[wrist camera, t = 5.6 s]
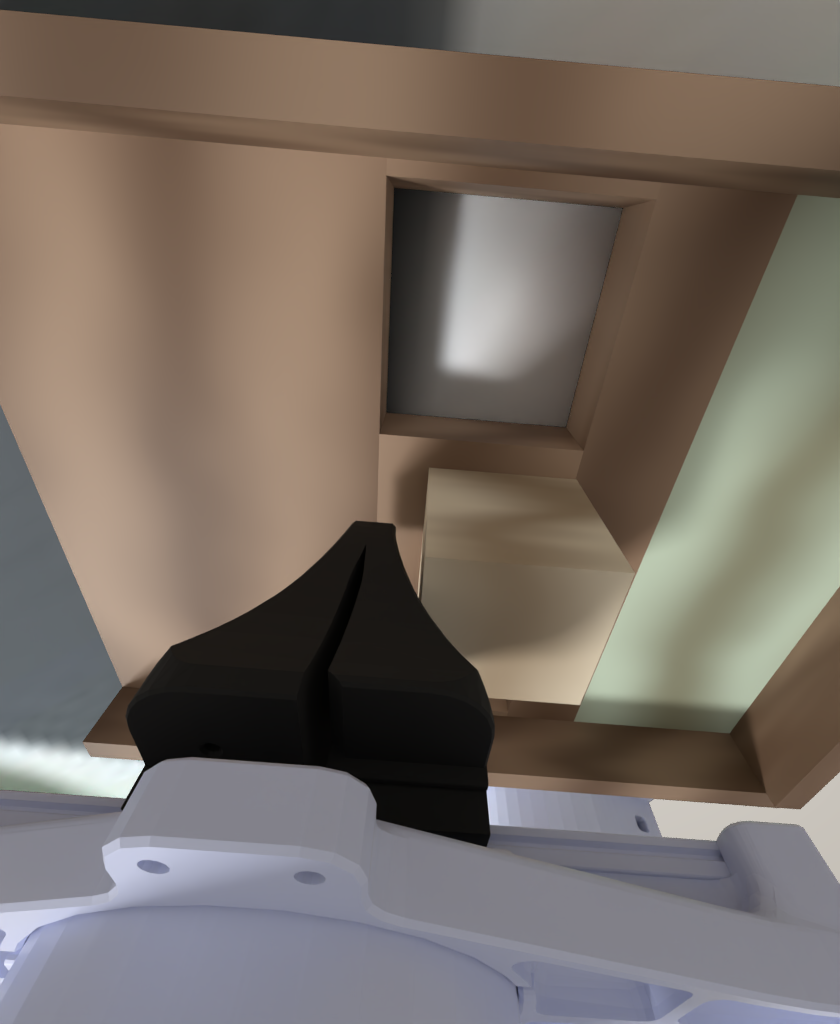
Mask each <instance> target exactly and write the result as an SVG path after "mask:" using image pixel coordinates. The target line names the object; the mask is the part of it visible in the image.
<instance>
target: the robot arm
mask: <svg viewBox="0 0 840 1024" xmlns="http://www.w3.org/2000/svg"><path fill="white" fill-rule="evenodd" d="M125 717H126V721H127V725H128V728H129V731H130V733H131V735H132V737H133V739H134V742H135V744H136V746H137V748H138V750H139V752H140V754H141V757H142V759H143V761H144V763H145V766H144V768H143V770H142V772H141V773H140V775H139V777H138V779H137V780H136V782H135V784H134V786H133V787H132V789H131V791H130V793H129V794H128V796H127V798H126V799H122V798H109V797H95V796H81V795H67V794H53V793H39V792H25V791H11V790H0V1024H840V884H839V883H838V881H837V879H836V878H835V876H834V875H833V873H832V872H831V870H830V868H829V867H828V866H827V864H826V862H825V861H824V859H823V858H822V856H821V854H820V853H819V851H818V850H817V848H816V847H815V845H814V843H813V842H812V840H811V839H810V838H809V836H808V834H807V833H806V831H805V829H804V828H803V827H801V826H799V825H795V824H782V823H768V822H754V821H742V822H737V823H733V824H730V825H729V826H727V827H726V828H724V830H723V831H722V832H721V833H720V835H719V837H718V838H717V841H709V840H695V839H681V838H667V837H662V836H661V833H660V830H659V828H658V825H657V823H656V820H655V817H654V815H653V812H652V810H651V807H650V804H649V802H650V801H652V800H653V799H652V798H638V797H625V796H611V795H598V794H585V793H571V792H558V791H545V790H531V789H518V788H505V787H491V786H488V771H487V762H488V759H489V755H490V751H491V748H492V744H493V740H494V736H495V723H494V717H493V713H492V709H491V705H490V701H489V698H488V695H487V692H486V689H485V686H484V684H483V681H482V679H481V676H480V674H479V671H478V670H477V669H476V668H475V667H474V666H473V665H472V664H471V663H470V662H469V661H468V660H467V659H466V658H464V657H463V656H462V655H461V654H460V653H459V652H458V650H457V649H456V648H455V647H454V646H453V645H452V644H451V643H450V641H449V640H448V639H447V638H446V637H445V635H444V634H443V633H442V632H441V630H440V629H439V628H438V626H437V625H436V624H435V622H434V621H433V620H432V618H431V617H430V615H429V614H428V612H427V611H426V609H425V608H424V606H423V604H422V603H421V601H420V599H419V597H418V596H417V594H416V592H415V590H414V588H413V586H412V584H411V582H410V579H409V577H408V575H407V573H406V570H405V568H404V565H403V562H402V559H401V556H400V553H399V549H398V545H397V540H396V527H395V525H394V524H393V523H380V522H367V521H355V522H353V523H352V524H351V525H350V527H349V528H348V529H347V530H346V532H345V533H344V534H343V535H342V536H341V537H340V538H339V540H338V541H337V542H336V543H335V544H334V545H333V546H332V547H331V548H330V549H329V550H328V551H327V552H326V553H325V554H324V555H323V556H322V557H321V558H320V559H319V560H318V561H317V562H316V563H315V564H314V565H313V566H312V567H310V568H309V569H308V570H307V571H306V572H305V573H304V574H303V575H301V576H300V577H299V578H298V579H296V580H295V581H294V582H293V583H291V584H290V585H289V586H287V587H286V588H285V589H283V590H282V591H281V592H279V593H278V594H276V595H275V596H273V597H271V598H270V599H268V600H267V601H265V602H263V603H262V604H260V605H258V606H257V607H255V608H254V609H252V610H250V611H248V612H246V613H244V614H243V615H241V616H239V617H237V618H235V619H233V620H231V621H229V622H227V623H225V624H223V625H221V626H219V627H216V628H214V629H212V630H210V631H207V632H205V633H202V634H200V635H197V636H195V637H193V638H190V639H188V640H185V641H183V642H180V643H178V644H175V645H172V646H171V647H170V648H169V649H168V650H167V652H166V653H165V654H164V655H163V656H162V658H161V659H160V660H159V661H158V662H157V664H156V665H155V667H154V668H153V669H152V671H151V672H150V674H149V675H148V677H147V678H146V680H145V681H144V683H143V684H142V685H141V687H140V688H139V690H138V691H137V693H136V694H135V696H134V697H133V699H132V700H131V702H130V703H129V705H128V707H127V711H126V716H125Z"/></svg>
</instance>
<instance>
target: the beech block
mask: <svg viewBox="0 0 840 1024" xmlns="http://www.w3.org/2000/svg"><path fill="white" fill-rule="evenodd" d="M634 575H635V572H634V571H633V569H632V568H631V566H630V564H629V563H628V561H627V560H626V558H625V556H624V555H623V553H622V552H621V550H620V548H619V547H618V545H617V544H616V542H615V540H614V539H613V537H612V535H611V534H610V532H609V531H608V529H607V527H606V526H605V524H604V523H603V521H602V519H601V518H600V516H599V515H598V513H597V511H596V510H595V508H594V507H593V505H592V503H591V502H590V500H589V499H588V497H587V495H586V494H585V492H584V490H583V489H582V487H581V486H580V484H579V482H578V481H577V480H576V479H564V478H552V477H539V476H527V475H515V474H502V473H490V472H478V471H465V470H453V469H440V468H429V473H428V484H427V495H426V506H425V517H424V528H423V539H422V550H421V561H420V572H419V583H418V597H419V599H420V601H421V603H422V604H423V606H424V608H425V609H426V611H427V612H428V614H429V615H430V617H431V618H432V620H433V621H434V622H435V624H436V625H437V626H438V628H439V629H440V630H441V632H442V633H443V634H444V635H445V637H446V638H447V639H448V640H449V641H450V643H451V644H452V645H453V646H454V647H455V648H456V649H457V650H458V652H459V653H460V654H461V655H462V656H463V657H464V658H466V659H467V660H468V661H469V662H470V663H471V664H472V665H473V666H474V667H475V668H476V669H477V670H478V671H479V674H480V676H481V679H482V681H483V684H484V686H485V689H486V692H487V695H488V698H495V699H508V700H521V701H534V702H547V703H560V704H573V705H580V704H581V701H582V699H583V696H584V694H585V692H586V689H587V687H588V684H589V682H590V680H591V677H592V675H593V673H594V670H595V668H596V665H597V663H598V661H599V658H600V656H601V654H602V651H603V649H604V646H605V644H606V642H607V639H608V637H609V634H610V632H611V630H612V627H613V625H614V623H615V620H616V618H617V615H618V613H619V611H620V608H621V606H622V603H623V601H624V599H625V596H626V594H627V592H628V589H629V587H630V584H631V582H632V580H633V577H634Z"/></svg>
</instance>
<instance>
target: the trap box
mask: <svg viewBox="0 0 840 1024" xmlns="http://www.w3.org/2000/svg"><path fill="white" fill-rule="evenodd" d="M394 188H402V189H413V190H425V191H436V192H447V193H459V194H470V195H481V196H493V197H504V198H515V199H527V200H538V201H549V202H560V203H572V204H583V205H594V206H606V207H617V208H623V210H622V214H621V218H620V222H619V226H618V230H617V233H616V237H615V241H614V245H613V249H612V253H611V257H610V260H609V264H608V268H607V272H606V276H605V280H604V283H603V287H602V291H601V295H600V299H599V303H598V307H597V310H596V314H595V318H594V322H593V326H592V330H591V334H590V337H589V341H588V345H587V349H586V353H585V357H584V360H583V364H582V368H581V372H580V376H579V380H578V384H577V387H576V391H575V395H574V399H573V403H572V407H571V410H570V414H569V418H568V422H567V426H566V428H565V427H553V426H541V425H529V424H517V423H505V422H493V421H481V420H469V419H457V418H445V417H433V416H421V415H409V414H397V413H386V405H387V377H388V348H389V320H390V291H391V263H392V234H393V206H394ZM0 405H1V407H2V409H3V411H4V414H5V416H6V418H7V421H8V423H9V425H10V428H11V430H12V432H13V435H14V437H15V439H16V441H17V444H18V446H19V448H20V451H21V453H22V455H23V458H24V460H25V462H26V465H27V467H28V469H29V472H30V474H31V476H32V478H33V481H34V483H35V485H36V488H37V490H38V492H39V495H40V497H41V499H42V502H43V504H44V506H45V509H46V511H47V513H48V515H49V518H50V520H51V522H52V525H53V527H54V529H55V532H56V534H57V536H58V539H59V541H60V543H61V546H62V548H63V550H64V552H65V555H66V557H67V559H68V562H69V564H70V566H71V569H72V571H73V573H74V576H75V578H76V580H77V583H78V585H79V587H80V589H81V592H82V594H83V596H84V599H85V601H86V603H87V606H88V608H89V610H90V613H91V615H92V617H93V619H94V622H95V624H96V626H97V629H98V631H99V633H100V636H101V638H102V640H103V643H104V645H105V647H106V650H107V652H108V654H109V656H110V659H111V661H112V663H113V666H114V668H115V670H116V673H117V675H118V677H119V680H120V682H121V684H122V689H121V690H120V691H119V693H118V694H117V695H116V697H115V698H114V699H113V701H112V702H111V704H110V705H109V706H108V708H107V709H106V710H105V712H104V713H103V715H102V716H101V717H100V719H99V720H98V721H97V723H96V724H95V726H94V727H93V728H92V730H91V731H90V732H89V734H88V735H87V737H86V738H85V739H84V741H83V744H84V745H85V747H86V749H87V751H88V753H89V754H90V756H91V757H104V758H118V759H131V760H143V759H142V757H141V754H140V752H139V750H138V748H137V746H136V744H135V742H134V739H133V737H132V735H131V733H130V731H129V728H128V725H127V721H126V717H125V716H126V711H127V707H128V705H129V703H130V702H131V700H132V699H133V697H134V696H135V694H136V693H137V691H138V690H139V688H140V687H141V685H142V684H143V683H144V681H145V680H146V678H147V677H148V675H149V674H150V672H151V671H152V669H153V668H154V667H155V665H156V664H157V662H158V661H159V660H160V659H161V658H162V656H163V655H164V654H165V653H166V652H167V650H168V649H169V648H170V647H171V646H172V645H175V644H178V643H180V642H183V641H185V640H188V639H190V638H193V637H195V636H197V635H200V634H202V633H205V632H207V631H210V630H212V629H214V628H216V627H219V626H221V625H223V624H225V623H227V622H229V621H231V620H233V619H235V618H237V617H239V616H241V615H243V614H244V613H246V612H248V611H250V610H252V609H254V608H255V607H257V606H258V605H260V604H262V603H263V602H265V601H267V600H268V599H270V598H271V597H273V596H275V595H276V594H278V593H279V592H281V591H282V590H283V589H285V588H286V587H287V586H289V585H290V584H291V583H293V582H294V581H295V580H296V579H298V578H299V577H300V576H301V575H303V574H304V573H305V572H306V571H307V570H308V569H309V568H310V567H312V566H313V565H314V564H315V563H316V562H317V561H318V560H319V559H320V558H321V557H322V556H323V555H324V554H325V553H326V552H327V551H328V550H329V549H330V548H331V547H332V546H333V545H334V544H335V543H336V542H337V541H338V540H339V538H340V537H341V536H342V535H343V534H344V533H345V532H346V530H347V529H348V528H349V527H350V525H351V524H352V523H353V522H355V521H367V522H380V523H393V524H394V525H395V527H396V540H397V545H398V549H399V553H400V556H401V559H402V562H403V565H404V568H405V570H406V573H407V575H408V577H409V579H410V582H411V584H412V586H413V588H414V590H415V592H416V594H417V596H418V583H419V572H420V561H421V550H422V539H423V528H424V517H425V506H426V495H427V484H428V473H429V468H440V469H453V470H465V471H478V472H490V473H502V474H515V475H527V476H539V477H552V478H564V479H576V480H577V481H578V482H579V484H580V486H581V487H582V489H583V490H584V492H585V494H586V495H587V497H588V499H589V500H590V502H591V503H592V505H593V507H594V508H595V510H596V511H597V513H598V515H599V516H600V518H601V519H602V521H603V523H604V524H605V526H606V527H607V529H608V531H609V532H610V534H611V535H612V537H613V539H614V540H615V542H616V544H617V545H618V547H619V548H620V550H621V552H622V553H623V555H624V556H625V558H626V560H627V561H628V563H629V564H630V566H631V568H632V569H633V571H634V572H635V575H634V577H633V580H632V582H631V584H630V587H629V589H628V592H627V594H626V596H625V599H624V601H623V603H622V606H621V608H620V611H619V613H618V615H617V618H616V620H615V623H614V625H613V627H612V630H611V632H610V634H609V637H608V639H607V642H606V644H605V646H604V649H603V651H602V654H601V656H600V658H599V661H598V663H597V665H596V668H595V670H594V673H593V675H592V677H591V680H590V682H589V684H588V687H587V689H586V692H585V694H584V696H583V699H582V701H581V704H580V705H573V704H560V703H547V702H534V701H521V700H508V699H495V698H489V701H490V705H491V709H492V713H493V717H494V723H495V736H494V740H493V744H492V748H491V751H490V755H489V759H488V762H487V771H488V786H491V787H505V788H518V789H531V790H545V791H558V792H571V793H585V794H598V795H611V796H625V797H638V798H652V799H665V800H678V801H679V800H680V801H692V802H705V803H719V804H732V805H745V806H758V807H773V808H790V809H801V808H802V807H803V806H804V805H805V804H806V803H807V802H809V801H810V800H811V799H812V798H813V797H814V796H815V795H816V794H817V793H818V792H819V791H820V790H821V789H822V788H823V787H824V786H825V785H826V784H828V782H830V781H831V780H832V779H833V778H834V777H835V776H836V775H837V774H838V773H839V772H840V87H837V86H826V85H815V84H804V83H793V82H782V81H771V80H761V79H750V78H739V77H728V76H717V75H706V74H695V73H684V72H673V71H662V70H652V69H641V68H630V67H619V66H608V65H597V64H586V63H575V62H564V61H553V60H542V59H532V58H521V57H510V56H499V55H488V54H477V53H466V52H455V51H444V50H433V49H422V48H412V47H401V46H390V45H379V44H368V43H357V42H346V41H335V40H324V39H313V38H303V37H292V36H281V35H270V34H259V33H248V32H237V31H226V30H215V29H204V28H193V27H183V26H172V25H161V24H150V23H139V22H128V21H117V20H106V19H95V18H84V17H74V16H63V15H52V14H41V13H30V12H19V11H8V10H0Z"/></svg>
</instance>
